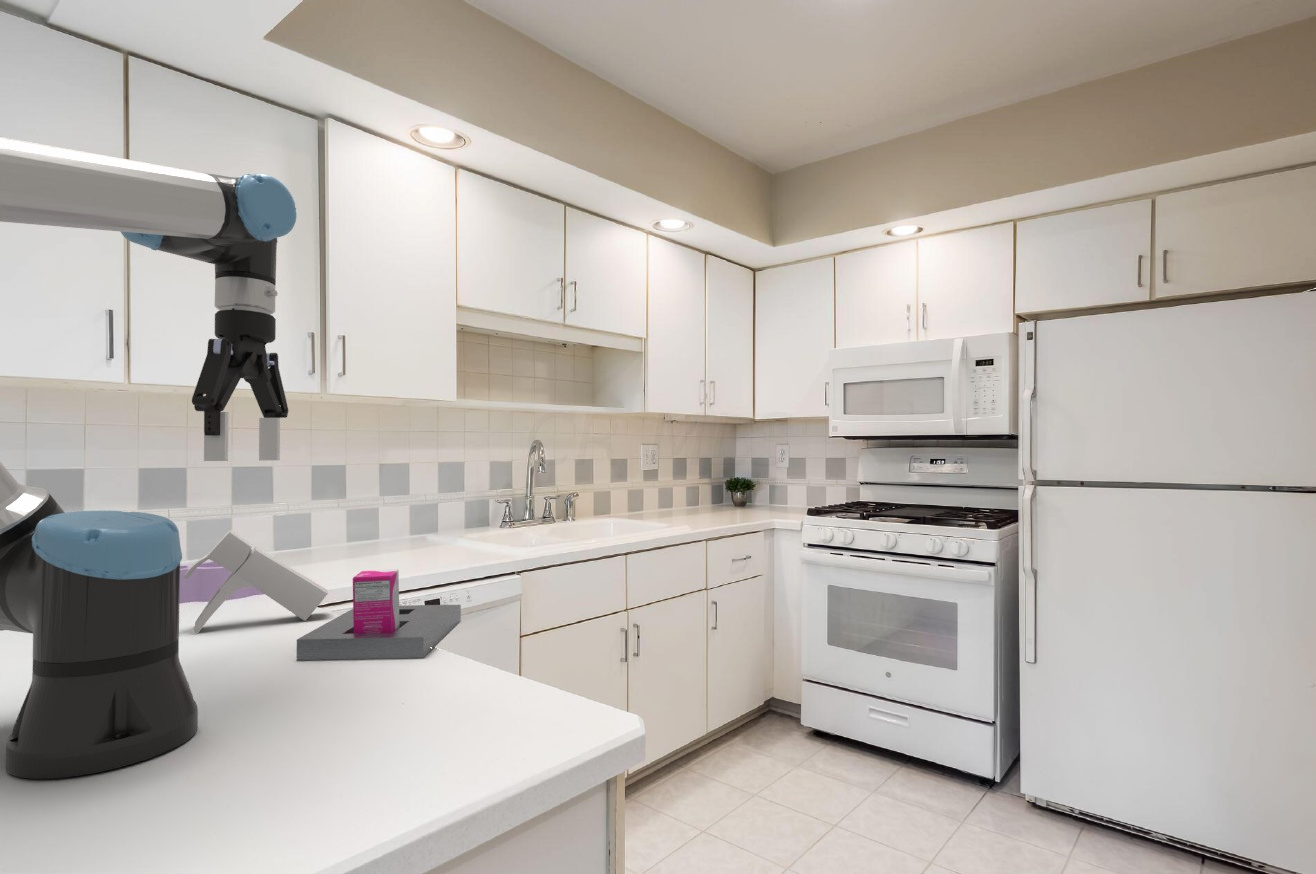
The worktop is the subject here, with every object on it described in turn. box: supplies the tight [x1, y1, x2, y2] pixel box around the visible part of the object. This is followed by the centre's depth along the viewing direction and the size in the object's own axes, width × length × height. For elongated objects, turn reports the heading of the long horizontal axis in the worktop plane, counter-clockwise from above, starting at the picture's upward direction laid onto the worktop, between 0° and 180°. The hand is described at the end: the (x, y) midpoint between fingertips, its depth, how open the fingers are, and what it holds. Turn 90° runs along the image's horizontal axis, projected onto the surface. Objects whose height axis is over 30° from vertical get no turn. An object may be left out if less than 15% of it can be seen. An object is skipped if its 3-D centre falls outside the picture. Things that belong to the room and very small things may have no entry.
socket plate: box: [296, 604, 462, 662], centre depth 111 cm, size 22×18×3 cm
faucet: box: [184, 529, 329, 635], centre depth 121 cm, size 6×16×20 cm
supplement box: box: [352, 568, 400, 634], centre depth 106 cm, size 6×6×12 cm
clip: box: [179, 560, 265, 605], centre depth 146 cm, size 20×12×7 cm, turn 126°
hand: (244, 461), depth 99 cm, fingers open, 13 cm apart
